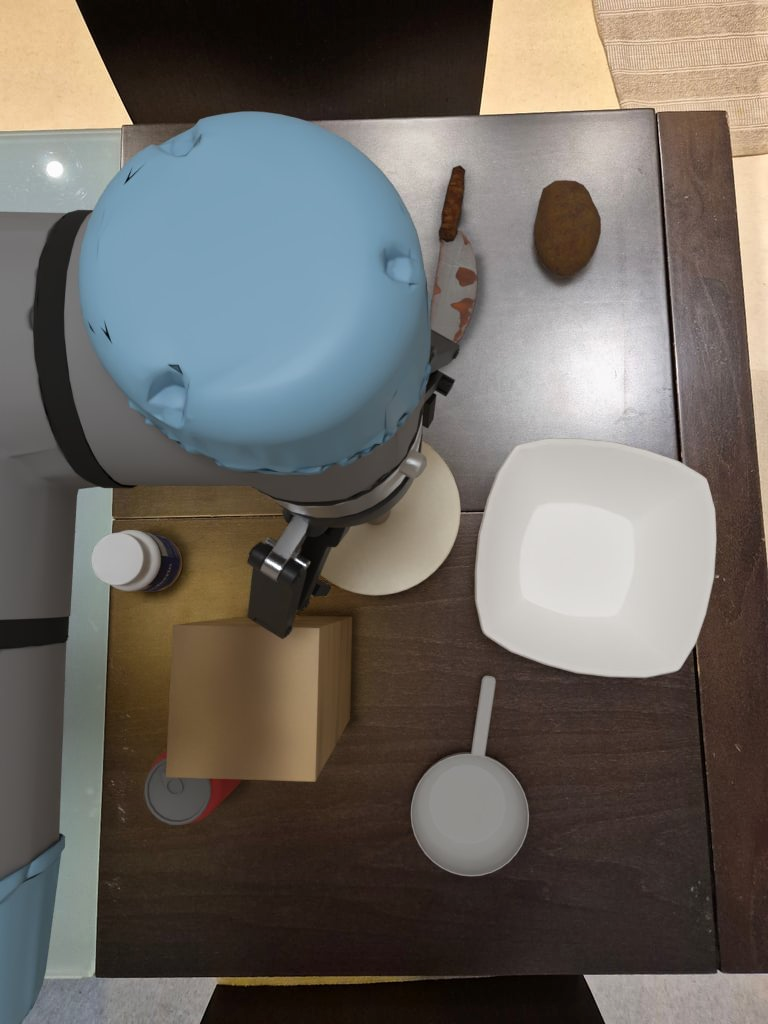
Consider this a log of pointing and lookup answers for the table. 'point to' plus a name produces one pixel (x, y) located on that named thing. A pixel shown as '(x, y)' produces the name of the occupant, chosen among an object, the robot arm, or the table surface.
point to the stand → (257, 698)
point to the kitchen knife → (453, 268)
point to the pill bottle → (136, 561)
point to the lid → (401, 537)
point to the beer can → (183, 794)
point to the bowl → (596, 557)
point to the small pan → (470, 805)
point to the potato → (566, 228)
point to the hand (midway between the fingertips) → (364, 497)
